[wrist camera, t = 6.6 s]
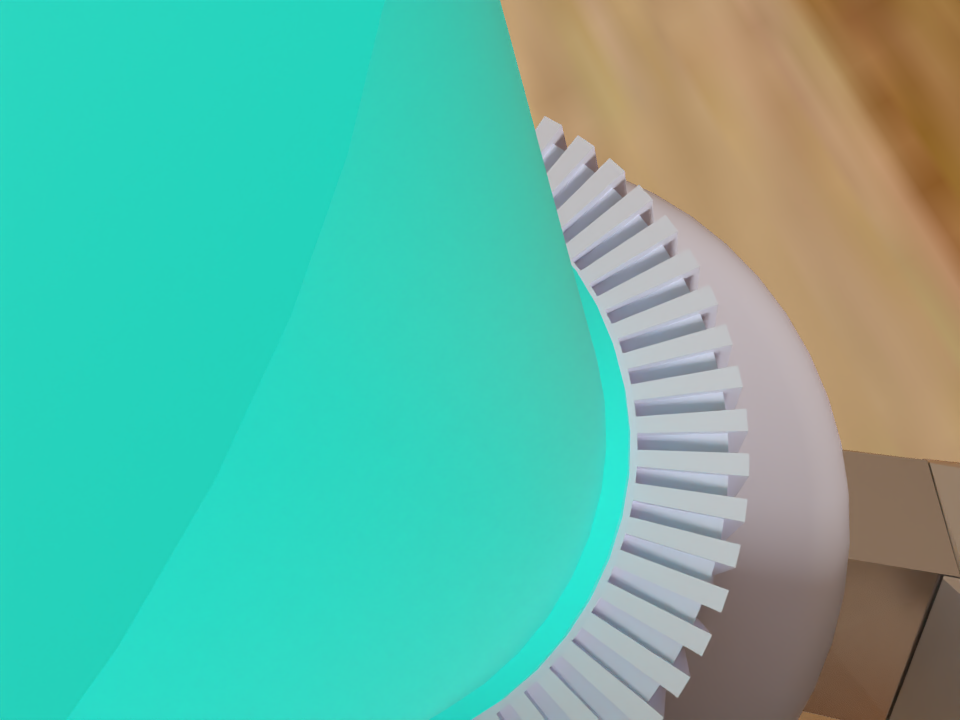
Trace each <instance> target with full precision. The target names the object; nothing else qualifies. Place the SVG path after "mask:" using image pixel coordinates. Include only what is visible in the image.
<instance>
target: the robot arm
mask: <svg viewBox="0 0 960 720" xmlns="http://www.w3.org/2000/svg"><path fill="white" fill-rule="evenodd" d="M842 451H843V458H844V465H845V471H846V478H847V485H848V492H849V530H850V545H849V554H848V564H847V573H846V582H845V591H844V596H843V601H842V605H841V609H840V613H839V617H838V621H837V625H836V629H835V634H834V638H833V642H832V645H831V647H830V650H829V652H828V655H827V658H826V660H825V663H824V665H823V668H822V671H821V673H820V676H819V678H818V681H817V684H816V686H815V689H814V691H813V693H812V695H811V697H810V698H809V700H808V702H807V704H806V706H805V707H804V709H803V711H804V712H809V713H813V714H818V715H822V716H827V717H831V718H836V719H840V720H960V463H957V462H948V461H939V460H930V459H922V460H921V459H913V458H905V457H897V456H889V455H882V454H874V453H866V452H858V451H850V450H842Z"/></svg>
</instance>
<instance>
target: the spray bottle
mask: <svg viewBox="0 0 960 720" xmlns="http://www.w3.org/2000/svg"><path fill="white" fill-rule="evenodd" d="M849 545H850V530H849V492H848V485H847V478H846V471H845V465H844V458H843V451H842V445H841V441H840V437H839V434H838V430H837V427H836V423H835V420H834V416H833V413H832V409H831V406H830V402H829V399H828V396H827V394H826V391H825V389H824V386H823V384H822V382H821V379H820V377H819V375H818V372H817V370H816V368H815V365H814V363H813V361H812V358H811V356H810V354H809V352H808V350H807V348H806V347H805V345H804V343H803V342H802V340H801V338H800V336H799V335H798V333H797V331H796V329H795V328H794V326H793V324H792V323H791V321H790V319H789V317H788V316H787V314H786V313H785V311H784V310H783V309H782V307H781V306H780V305H779V303H778V302H777V301H776V299H775V298H774V297H773V295H772V294H771V293H770V292H769V290H768V289H767V288H766V286H765V285H764V284H763V282H762V281H761V280H760V278H759V277H758V276H757V275H756V274H755V273H754V272H753V271H752V270H751V269H750V268H749V267H748V266H747V265H746V264H745V263H744V262H743V261H742V260H741V259H740V258H739V257H738V256H737V255H736V254H735V252H734V251H733V250H732V249H731V248H730V247H729V246H728V245H727V244H725V243H724V242H723V241H722V240H720V239H719V238H718V237H717V236H715V235H714V234H713V233H712V232H710V231H709V230H708V229H707V228H705V227H704V226H703V225H702V224H700V223H699V222H698V221H697V220H695V219H694V218H693V217H691V216H690V215H688V214H687V213H685V212H683V211H682V210H680V209H679V208H677V207H675V206H674V205H672V204H670V203H669V202H667V201H666V200H664V199H662V198H661V197H659V196H657V195H656V194H654V193H652V192H650V191H647V190H645V189H643V188H641V186H640V185H638V186H637V185H634V184H632V183H630V182H628V181H626V179H625V171H624V170H623V169H622V168H620V167H619V166H618V165H617V164H616V163H615V162H613V161H612V160H611V159H610V158H609V159H608V160H607V161H606V162H605V163H604V164H603V165H602V166H601V167H600V168H599V169H598V165H597V160H596V154H595V148H594V146H593V145H592V144H590V143H589V142H587V141H586V140H584V139H583V138H581V137H580V136H577V137H576V138H575V140H574V141H573V142H572V143H571V144H570V146H569V147H568V148H567V146H566V141H565V137H564V133H563V129H562V125H560V124H558V123H557V122H555V121H553V120H551V119H549V118H547V117H546V116H544V118H543V119H542V121H541V122H540V124H539V125H538V127H537V128H536V130H535V128H534V124H533V121H532V117H531V113H530V110H529V106H528V102H527V99H526V95H525V91H524V87H523V84H522V80H521V76H520V73H519V69H518V65H517V62H516V58H515V54H514V50H513V47H512V43H511V39H510V36H509V32H508V28H507V25H506V21H505V17H504V14H503V10H502V6H501V2H500V0H0V720H798V718H799V717H800V715H801V713H802V711H803V709H804V707H805V706H806V704H807V702H808V700H809V698H810V697H811V695H812V693H813V691H814V689H815V686H816V684H817V681H818V678H819V676H820V673H821V671H822V668H823V665H824V663H825V660H826V658H827V655H828V652H829V650H830V647H831V645H832V642H833V638H834V634H835V629H836V625H837V621H838V617H839V613H840V609H841V605H842V601H843V596H844V591H845V582H846V573H847V564H848V554H849Z"/></svg>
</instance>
